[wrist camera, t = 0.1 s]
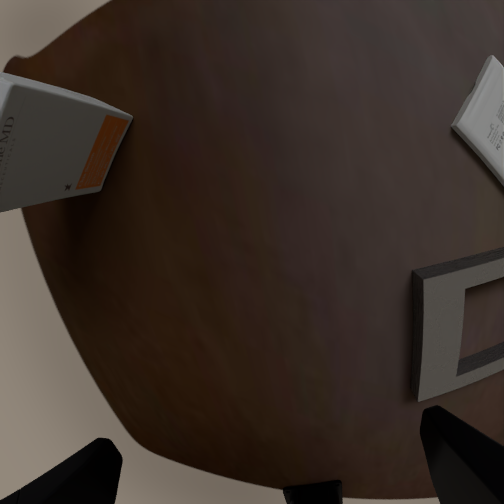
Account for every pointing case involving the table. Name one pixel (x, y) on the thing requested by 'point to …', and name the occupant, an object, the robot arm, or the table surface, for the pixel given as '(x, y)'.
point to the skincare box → (53, 142)
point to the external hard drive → (485, 117)
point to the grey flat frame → (449, 325)
